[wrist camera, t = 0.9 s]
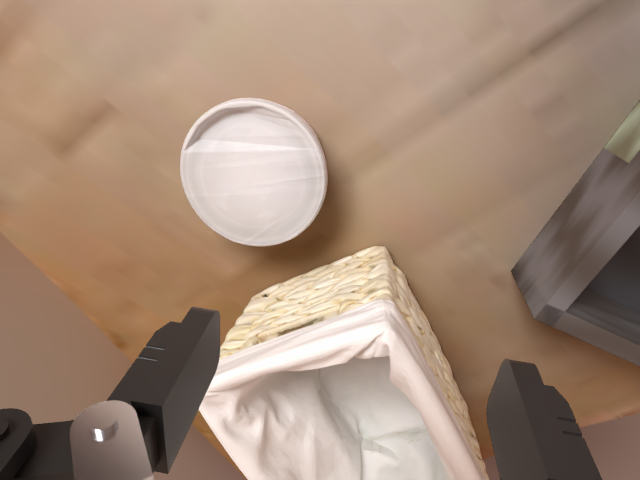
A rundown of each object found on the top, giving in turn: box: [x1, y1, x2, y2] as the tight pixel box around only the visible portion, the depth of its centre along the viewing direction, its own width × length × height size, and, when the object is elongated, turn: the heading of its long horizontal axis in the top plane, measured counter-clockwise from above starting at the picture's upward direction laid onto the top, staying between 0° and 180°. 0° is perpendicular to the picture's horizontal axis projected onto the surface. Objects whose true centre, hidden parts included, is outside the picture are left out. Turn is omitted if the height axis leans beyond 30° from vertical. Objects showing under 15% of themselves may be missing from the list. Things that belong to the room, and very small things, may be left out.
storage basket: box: [199, 246, 489, 480], centre depth 39 cm, size 24×16×15 cm
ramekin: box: [180, 98, 328, 247], centre depth 36 cm, size 11×11×5 cm
